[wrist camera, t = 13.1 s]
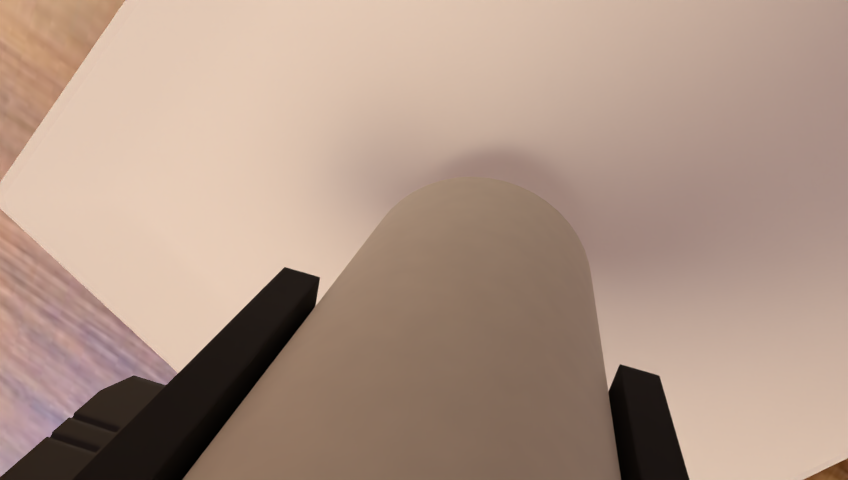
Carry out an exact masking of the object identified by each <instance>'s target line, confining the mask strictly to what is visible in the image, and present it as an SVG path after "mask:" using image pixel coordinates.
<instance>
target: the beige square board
mask: <svg viewBox="0 0 848 480" xmlns="http://www.w3.org/2000/svg"><path fill="white" fill-rule="evenodd" d="M458 177H484V178H492V179H497V180H502V181H506V182H509V183H512V184H515V185H518V186H520V187H522V188H524V189H526V190H529V191H531V192H533V193H535V194H536V195H538V196H539V197H541V198H542V199H544V200H545V201H547V202H548V203H549V204H550V205H552V206H553V207H554V208H555V209H556V210H557V211H559V212H560V213H561V215H562V216H563V217H564V218H565V219H566V220H567V221H568V222H569V224H570V225H571V226H572V228H573V229H574V231H575V232H576V234H577V235H578V237H579V239H580V241H581V243H582V245H583V247H584V249H585V252H586V255H587V258H588V262H589V266H590V272H591V278H592V284H593V291H594V298H595V305H596V312H597V318H598V325H599V332H600V339H601V346H602V353H603V359H604V366H605V373H606V380H607V387H608V391H609V389H610V387H611V384H612V382H613V379H614V377H615V374H616V372H617V370H618V367H619V365H620V364H621V365H625V366H628V367H632V368H635V369H639V370H642V371H646V372H649V373H652V374H656V375H659V376H660V379H661V383H662V386H663V390H664V393H665V396H666V400H667V403H668V407H669V410H670V414H671V417H672V421H673V424H674V428H675V431H676V435H677V438H678V442H679V445H680V448H681V452H682V455H683V459H684V462H685V466H686V469H687V473H688V476H689V480H803V479H805V478H807V477H809V476H812V475H814V474H816V473H818V472H820V471H822V470H824V469H826V468H828V467H830V466H832V465H834V464H837V463H839V462H841V461H843V460H845V459H847V458H848V0H125V1H124V3H123V4H122V6H121V7H120V9H119V10H118V12H117V13H116V15H115V16H114V17H113V19H112V20H111V22H110V23H109V25H108V26H107V28H106V29H105V31H104V32H103V33H102V35H101V36H100V38H99V39H98V41H97V42H96V44H95V45H94V47H93V48H92V49H91V51H90V52H89V54H88V55H87V57H86V58H85V60H84V61H83V63H82V64H81V65H80V67H79V68H78V70H77V71H76V73H75V74H74V76H73V77H72V79H71V80H70V82H69V83H68V84H67V86H66V87H65V89H64V90H63V92H62V93H61V95H60V96H59V98H58V99H57V100H56V102H55V103H54V105H53V106H52V108H51V109H50V111H49V112H48V114H47V115H46V116H45V118H44V119H43V121H42V122H41V124H40V125H39V127H38V128H37V130H36V131H35V132H34V134H33V135H32V137H31V138H30V140H29V141H28V143H27V144H26V146H25V147H24V149H23V150H22V151H21V153H20V154H19V156H18V157H17V159H16V160H15V162H14V163H13V165H12V166H11V167H10V169H9V170H8V172H7V173H6V175H5V176H4V178H3V179H2V181H1V182H0V209H1V210H2V211H3V212H5V213H6V214H7V215H8V216H9V217H10V218H11V219H12V220H13V221H14V222H15V223H16V224H18V225H19V226H20V227H21V228H22V229H23V230H24V231H25V232H26V233H27V234H28V235H29V236H30V237H32V238H33V239H34V240H35V241H36V242H37V243H38V244H39V245H40V246H41V247H42V248H43V249H45V250H46V251H47V252H48V253H49V254H50V255H51V256H52V257H53V258H54V259H55V260H56V261H58V262H59V263H60V264H61V265H62V266H63V267H64V268H65V269H66V270H67V271H68V272H69V273H70V274H72V275H73V276H74V277H75V278H76V279H77V280H78V281H79V282H80V283H81V284H82V285H83V286H85V287H86V288H87V289H88V290H89V291H90V292H91V293H92V294H93V295H94V296H95V297H96V298H98V299H99V300H100V301H101V302H102V303H103V304H104V305H105V306H106V307H107V308H108V309H109V310H110V311H112V312H113V313H114V314H115V315H116V316H117V317H118V318H119V319H120V320H121V321H122V322H123V323H125V324H126V325H127V326H128V327H129V328H130V329H131V330H132V331H133V332H134V333H135V334H136V335H138V336H139V337H140V338H141V339H142V340H143V341H144V342H145V343H146V344H147V345H148V346H149V347H150V348H152V349H153V350H154V351H155V352H156V353H157V354H158V355H159V356H160V357H161V358H162V359H163V360H165V361H166V362H167V363H168V364H169V365H170V366H171V367H172V368H173V369H174V370H175V371H176V372H178V373H179V372H180V371H181V370H182V369H183V368H184V367H185V366H186V365H187V364H188V363H189V362H190V361H191V360H192V359H193V358H194V357H195V356H196V355H197V354H198V353H199V352H200V351H201V350H202V349H203V348H204V347H205V346H206V345H207V344H208V343H209V342H210V341H211V340H212V339H213V338H214V337H215V336H216V335H217V334H218V333H219V332H220V331H221V330H222V329H223V328H224V327H225V326H226V325H227V324H228V323H229V322H230V321H231V320H232V319H233V318H234V317H235V316H236V315H237V314H238V313H239V312H240V311H241V310H242V309H243V308H244V307H245V306H246V305H247V304H248V303H249V302H250V301H251V300H252V299H253V298H254V297H255V296H256V295H257V294H258V293H259V292H260V291H261V290H262V289H263V288H264V287H265V286H266V285H267V284H268V283H269V282H270V281H271V280H272V279H273V278H274V277H275V276H276V275H277V274H278V273H279V272H280V271H281V270H282V269H283V268H284V267H287V268H290V269H293V270H297V271H300V272H304V273H307V274H311V275H314V276H318V277H320V281H319V287H318V293H317V299H316V305H317V304H318V302H319V301H320V300H321V299H322V297H323V296H324V295H325V293H326V292H327V291H328V289H329V288H330V287H331V285H332V284H333V283H334V282H335V280H336V279H337V278H338V276H339V275H340V274H341V272H342V271H343V270H344V269H345V267H346V266H347V265H348V263H349V262H350V261H351V259H352V258H353V257H354V256H355V254H356V253H357V252H358V250H359V249H360V248H361V246H362V245H363V244H364V243H365V241H366V240H367V239H368V237H369V236H370V235H371V233H372V232H373V231H374V230H375V228H376V227H377V226H378V224H379V223H380V222H381V220H382V219H383V218H384V217H385V216H386V214H387V213H388V212H389V211H390V210H391V209H392V208H393V207H394V206H395V205H396V204H397V203H398V202H400V201H401V200H402V199H403V198H405V197H406V196H408V195H409V194H411V193H412V192H414V191H416V190H418V189H420V188H422V187H424V186H426V185H429V184H432V183H435V182H438V181H441V180H446V179H452V178H458ZM316 305H315V306H316Z"/></svg>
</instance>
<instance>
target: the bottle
mask: <svg viewBox="0 0 848 480" xmlns="http://www.w3.org/2000/svg"><path fill="white" fill-rule="evenodd" d="M182 480H621V475H620V468H619V461H618V455H617V448H616V441H615V434H614V427H613V421H612V414H611V407H610V400H609V393H608V387H607V380H606V373H605V366H604V359H603V353H602V346H601V339H600V332H599V325H598V318H597V312H596V305H595V298H594V291H593V284H592V278H591V272H590V266H589V262H588V258H587V255H586V252H585V249H584V247H583V245H582V243H581V241H580V239H579V237H578V235H577V234H576V232H575V231H574V229H573V228H572V226H571V225H570V224H569V222H568V221H567V220H566V219H565V218H564V217H563V216H562V215H561V213H560V212H559V211H557V210H556V209H555V208H554V207H553V206H552V205H550V204H549V203H548V202H547V201H545V200H544V199H542V198H541V197H539V196H538V195H536V194H535V193H533V192H531V191H529V190H526V189H524V188H522V187H520V186H518V185H515V184H512V183H509V182H506V181H502V180H497V179H492V178H484V177H458V178H452V179H446V180H441V181H438V182H435V183H432V184H429V185H426V186H424V187H422V188H420V189H418V190H416V191H414V192H412V193H411V194H409V195H408V196H406V197H405V198H403V199H402V200H401V201H400V202H398V203H397V204H396V205H395V206H394V207H393V208H392V209H391V210H390V211H389V212H388V213H387V214H386V216H385V217H384V218H383V219H382V220H381V222H380V223H379V224H378V226H377V227H376V228H375V230H374V231H373V232H372V233H371V235H370V236H369V237H368V239H367V240H366V241H365V243H364V244H363V245H362V246H361V248H360V249H359V250H358V252H357V253H356V254H355V256H354V257H353V258H352V259H351V261H350V262H349V263H348V265H347V266H346V267H345V269H344V270H343V271H342V272H341V274H340V275H339V276H338V278H337V279H336V280H335V282H334V283H333V284H332V285H331V287H330V288H329V289H328V291H327V292H326V293H325V295H324V296H323V297H322V299H321V300H320V301H319V302H318V304H317V305H316V306H315V308H314V309H313V310H312V312H311V313H310V314H309V315H308V317H307V318H306V319H305V321H304V322H303V323H302V325H301V326H300V327H299V328H298V330H297V331H296V332H295V334H294V335H293V336H292V338H291V339H290V340H289V341H288V343H287V344H286V345H285V347H284V348H283V349H282V351H281V352H280V353H279V354H278V356H277V357H276V358H275V360H274V361H273V362H272V364H271V365H270V366H269V367H268V369H267V370H266V371H265V373H264V374H263V375H262V377H261V378H260V379H259V380H258V382H257V383H256V384H255V386H254V387H253V388H252V390H251V391H250V392H249V393H248V395H247V396H246V397H245V399H244V400H243V401H242V403H241V404H240V405H239V406H238V408H237V409H236V410H235V412H234V413H233V414H232V416H231V417H230V418H229V419H228V421H227V422H226V423H225V425H224V426H223V427H222V429H221V430H220V431H219V432H218V434H217V435H216V436H215V438H214V439H213V440H212V442H211V443H210V444H209V445H208V447H207V448H206V449H205V451H204V452H203V453H202V455H201V456H200V457H199V458H198V460H197V461H196V462H195V464H194V465H193V466H192V468H191V469H190V470H189V471H188V473H187V474H186V475H185V477H184V478H183V479H182Z"/></svg>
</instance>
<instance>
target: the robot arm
mask: <svg viewBox="0 0 848 480" xmlns="http://www.w3.org/2000/svg"><path fill="white" fill-rule="evenodd" d="M319 281H320V277H318V276H314V275H311V274H307V273H304V272H300V271H297V270H293V269H290V268H287V267H284V268H283V269H282V270H281V271H280V272H279V273H278V274H277V275H276V276H275V277H274V278H273V279H272V280H271V281H270V282H269V283H268V284H267V285H266V286H265V287H264V288H263V289H262V290H261V291H260V292H259V293H258V294H257V295H256V296H255V297H254V298H253V299H252V300H251V301H250V302H249V303H248V304H247V305H246V306H245V307H244V308H243V309H242V310H241V311H240V312H239V313H238V314H237V315H236V316H235V317H234V318H233V319H232V320H231V321H230V322H229V323H228V324H227V325H226V326H225V327H224V328H223V329H222V330H221V331H220V332H219V333H218V334H217V335H216V336H215V337H214V338H213V339H212V340H211V341H210V342H209V343H208V344H207V345H206V346H205V347H204V348H203V349H202V350H201V351H200V352H199V353H198V354H197V355H196V356H195V357H194V358H193V359H192V360H191V361H190V362H189V363H188V364H187V365H186V366H185V367H184V368H183V369H182V370H181V371H180V372H179V373H178V374H177V375H176V376H175V377H174V378H173V379H172V380H171V381H170V382H169V383H168V384H167V385H162V384H159V383H156V382H153V381H150V380H146V379H143V378H140V377H137V376H132V377H129V378H127V379H125V380H123V381H121V382H118V383H116V384H114V385H112V386H109V387H107V388H105V389H103V390H101V391H99V392H98V393H97V394H96V395H95V396H93V397H92V398H91V399H90V400H89V401H88V402H87V403H85V404H84V405H83V406H82V407H81V408H80V409H78V410H77V411H76V412H75V413H74V416H73V417H72V418H68V419H67V420H66V421H65V422H63V423H62V424H61V425H60V426H59V427H58V428H57V429H55V430H54V431H53V432H52V435H51V437H46V438H45V439H44V440H43V441H42V442H40V443H39V444H38V445H37V446H36V447H35V448H33V449H32V450H31V451H30V452H29V453H28V454H26V455H25V456H24V457H23V458H22V459H21V460H20V461H18V462H17V463H16V464H15V465H14V466H13V467H11V468H10V469H9V470H8V471H7V472H6V473H5V474H3V475H2V476H1V477H0V480H182V479H183V478H184V477H185V475H186V474H187V473H188V471H189V470H190V469H191V468H192V466H193V465H194V464H195V462H196V461H197V460H198V458H199V457H200V456H201V455H202V453H203V452H204V451H205V449H206V448H207V447H208V445H209V444H210V443H211V442H212V440H213V439H214V438H215V436H216V435H217V434H218V432H219V431H220V430H221V429H222V427H223V426H224V425H225V423H226V422H227V421H228V419H229V418H230V417H231V416H232V414H233V413H234V412H235V410H236V409H237V408H238V406H239V405H240V404H241V403H242V401H243V400H244V399H245V397H246V396H247V395H248V393H249V392H250V391H251V390H252V388H253V387H254V386H255V384H256V383H257V382H258V380H259V379H260V378H261V377H262V375H263V374H264V373H265V371H266V370H267V369H268V367H269V366H270V365H271V364H272V362H273V361H274V360H275V358H276V357H277V356H278V354H279V353H280V352H281V351H282V349H283V348H284V347H285V345H286V344H287V343H288V341H289V340H290V339H291V338H292V336H293V335H294V334H295V332H296V331H297V330H298V328H299V327H300V326H301V325H302V323H303V322H304V321H305V319H306V318H307V317H308V315H309V314H310V313H311V312H312V310H313V309H314V308H315V305H316V299H317V293H318V287H319ZM608 393H609V400H610V407H611V414H612V421H613V427H614V434H615V441H616V448H617V455H618V461H619V468H620V475H621V480H689V476H688V473H687V469H686V466H685V462H684V459H683V455H682V452H681V448H680V445H679V442H678V438H677V435H676V431H675V428H674V424H673V421H672V417H671V414H670V410H669V407H668V403H667V400H666V396H665V393H664V390H663V386H662V383H661V379H660V376H659V375H656V374H652V373H649V372H646V371H642V370H639V369H635V368H632V367H628V366H625V365H621V364H620V365H619V367H618V370H617V372H616V374H615V377H614V379H613V382H612V384H611V387H610V389H609V391H608Z"/></svg>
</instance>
